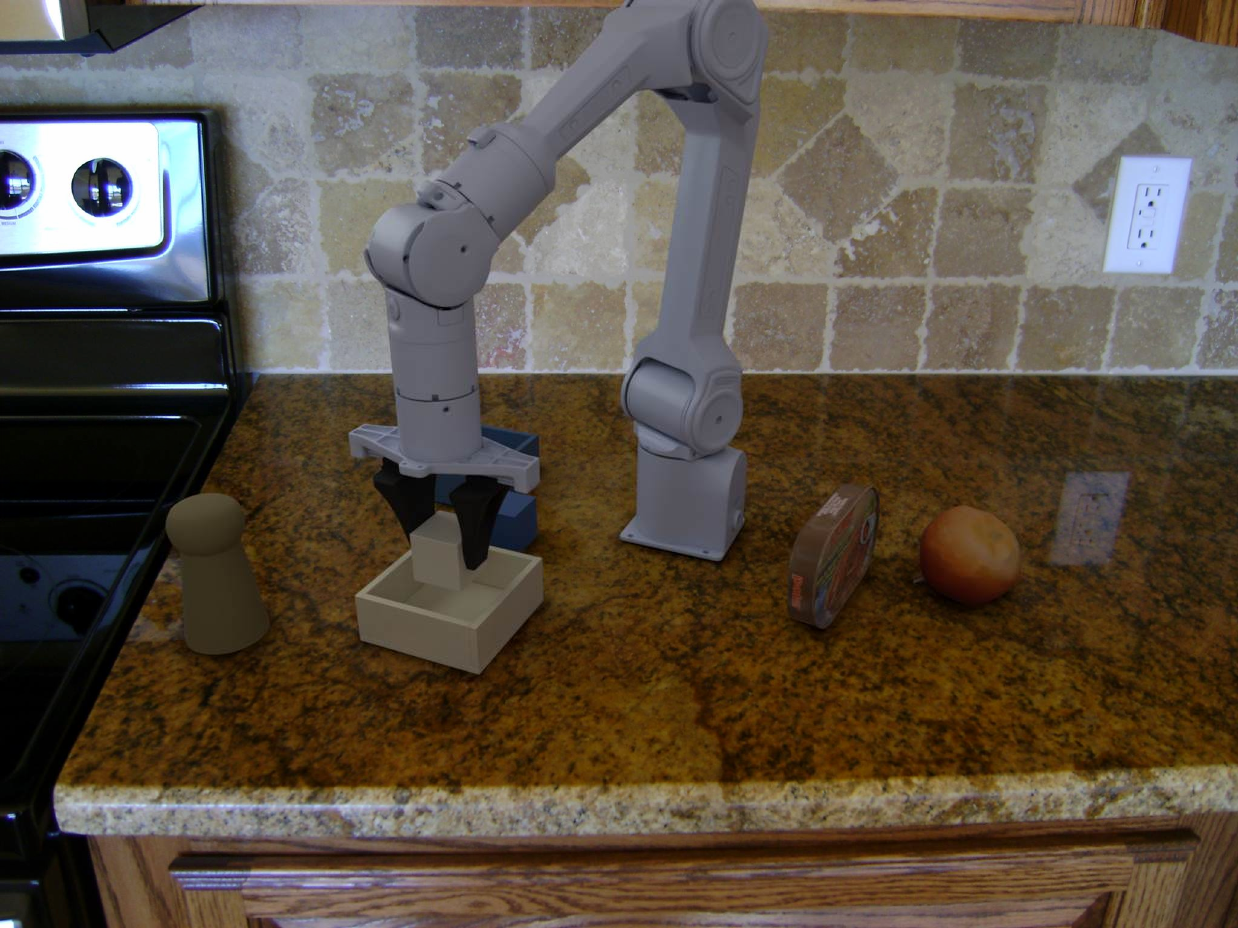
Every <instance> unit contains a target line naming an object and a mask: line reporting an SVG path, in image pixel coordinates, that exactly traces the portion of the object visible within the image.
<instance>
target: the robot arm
mask: <svg viewBox="0 0 1238 928" xmlns="http://www.w3.org/2000/svg"><path fill="white" fill-rule="evenodd" d="M603 20H604V21H603V24H602V29H601V31H600V33H599V34H598V35H597V36H596V37H595V39H594V40H593V41H592V42H591V44H590V45H588V46H587V48H586V49H585V50H584V51H583V52H582V53H581V55H580V56H579V57H578V58H577V59H576V60H575V61H574V62H573V63H572V64H571V66H570V67H569V68H568V69H567V70H566V71H565V72H564V73H563V74H562V76H561V77H560V78H559V79H558V80H557V81H556V83H555V84H554V85H553V86H552V87H551V88H550V89H549V90H548V91H547V92H546V93H545V95H543V97H542V98H541V99H540V100H539V101H538V102H537V104H535V105H534V107H532V109H531V110H530V111H529V112H528V114H527V115H526V116H525V117H524V118H523V119H522V120H521V121H520V122H519V123H514V122H507V121H497V122H493V123H492V124H491V125H490V126H487V127H486V126H480V125H478V126H476V127H475V128H474V129H473V130H472V131H471V132H470V133H469V134H468V135H467V136H466V141H467V143H468V144H469V146H468V147H467V148H466V149H465V150H464V151H463V152H462V153H461V154H460V155H459V156H458V157H456V159H455V160H454V161H453V162H452V163H451V164H449V166H448V167H446V168H445V169H444V170H443V171H442V172H441V173H440V174H439V175H438V176H437V177H436V178H435V179H434V180H433V181H430V180H425V181H424V182H422V183H421V184H420V186H419V187H418V188H417V189H416V193H417V197H416V202H405V203H404V204H400V203H399V204H396V205H395V206H392V207H390V208H389V209H388V210H386V211H385V212H384V213H383V214H381V216H380V217H379V218H378V219H377V221H376V222H375V224H374V226H373V229H372V236H370V238H369V244H368V245H369V246H368V247H366V248H364V249H363V251H362V253H363V258H364V261H365V262H364V263H365V265H366V266H367V269H368V271H369V272H370V273H371V275H372V276H373V277H374V279H375V280H376V281H377V282H378V283H380V285H381V286H382V288H383V290H384V298H385V309H386V317H387V318H386V319H387V331H388V332H387V333H388V342H389V343H388V344H389V351H390V362H391V372H392V383H393V392H394V393H393V394H394V401H395V403H394V404H395V412H396V413H395V414H396V421H397V426H396V425H393V426H392V425H379V424H378V425H377V424H369V423H362V424H361V425H359V426H358V427H356V428H355V429H353V430H351V431H350V432H349V433H348V443H349V450H350V457H352V458H354V459H355V458H357V459H363V460H364V459H365V458H367V457H368V456H369V457H373V458H378V459H382V464H381V466H380V470H379V471H377V472H376V473H375V474H374V475H373V476H372V481H373V482H372V483H373V487H374V489H376V491H377V492H379V494H380V495H381V496H382V497H383V498H384V499H385V501H386V502H387V504H388V505H389V506H390V508H391V510H392V511H393V513H394V515H395V516H396V518H397V520H398V522H399V524H400V526H401V528H402V531H403V533H404V536H405V537H406V540H407V543H408V544H409V547H410V548H411V542H410V534H411V533H412V532H413V531H414V530H416V529H417V528H418V527H419V526H421V525H422V524H423V523H424V522H426V521H427V520H428V519H429V518H430V517H432V516H433V515H434V514H435V513H436V507H435V506H436V504H435V502H436V501H435V485H436V476H437V474H458V475H463V476H466V482H465V483H464V482H463V483H462V484H461V485H459V486H458V487H457V488H455V489H454V490H453V491H452V492H450V493H449V500H450V502H451V504H452V505H451V506H452V508H453V510H454V514H456V516H457V519H458V523H459V527H460V531H461V538H462V551H463V557H464V562H465V565H466V569H468V570H472V571H474V570H476V569H477V568H478V567H479V566H480V565H481V564H482V563H483V562H484V561H485V560H486V559H487V557H488V551H489V545H490V540H491V536H492V532H493V528H494V524H495V521H496V518H497V515H498V513H499V510H500V508H501V505H502V503H503V501H504V499H505V497H506V495H507V493H508V491H509V489H510V487H511V486H514V490H515V491H516V492H515V493H519V494H524V495H528V494H529V492H531V491H532V490H534V488H535V487H536V486H538V485H539V484H540V482H541V466H540V465H541V464H539V458H540V457H539V458H538V457H534V456H529V455H526V454H523V453H520V452H517V451H515V450H513V449H511V448H508V447H506V446H504V445H501V444H499V443H497V442H495V441H492V440H490V439H488V438H486V437H483V436H482V432H481V424H482V417H481V397H480V396H481V395H480V384H479V383H480V382H479V367H478V364H479V363H478V348H477V347H478V345H477V332H476V331H477V327H476V311H475V310H476V309H475V298H474V297H475V295H477V294H479V293H480V292H481V291H482V290H483V289H484V288H485V285H486V284H487V281H488V279H489V276H490V273H491V267H492V259H493V258H494V256H495V254H496V253H497V252H498V251H499V250H500V248H499V247H500V245H501V244H502V243H503V242H505V240H506V239H507V238H508V237H509V236H510V235H511V234H512V233H513V232H514V231H515V230H516V229H518V227H519V226H520V225H521V224H522V223H523V222H524V221H525V220H526V219H527V218H528V217H529V216H531V214H532V213H533V212H534V211H535V210H536V209H537V208H538V207H539V205H540V204H542V203H543V202H544V200H546V198H548V196H549V195H550V194H552V192H553V191H554V190H555V188H556V183H557V162H559V161H560V160H561V159H562V158H563V157H564V156H566V154H567V153H569V152H570V151H571V150H572V149H573V148H574V147H575V146H577V145H578V144H579V143H580V142H581V141H583V139H585V138H586V137H587V136H588V135H589V134H590V133H591V132H592V131H594V130H595V129H596V128H597V127H598V126H599V125H601V124H602V123H603V122H604V121H605V120H606V119H607V118H609V116H611V115H612V114H613V113H614V112H616V110H617V109H619V108H620V107H621V106H622V105H624V103H626V102H627V100H629V99H631V97H632V96H633V95H635V94H636V93H638V92H642V91H650V92H651V93H653V94H654V95H655V96H657V97H658V98H659V99H661V100H662V101H663V102H664V103H666V104H667V105H668V106H669V108H670V109H671V111H672V112H673V114H674V115H675V117H676V118H677V120H678V121H679V122H680V124H681V125H682V126H683V128H684V130H685V139H684V144H683V152H682V159H681V164H680V173H679V177H678V179H679V180H678V186H677V192H676V200H675V206H674V213H673V219H672V226H671V233H670V238H669V247H668V253H667V260H666V267H665V274H664V281H663V287H662V292H661V293H662V294H661V300H660V308H659V315H658V322H657V327H656V328H655V329H654V330H653V331H650V332H649V333H648V334H647V335H645V336H644V337H642V338H641V339H639V340H638V341H637V342H636V343H635V347H634V353H633V359H632V362H631V364H630V367H629V368H628V370H627V373H626V374H625V377H624V379H623V381H622V384H621V388H620V405H621V408H622V411H623V413H624V414H625V416H626V417H627V418H629V420H631V421H632V422H633V434H634V435H636V436H637V463H636V464H637V466H636V506H635V507H636V512H635V513H636V514H635V516H633V518H632V519H631V520H630V521H629V523H628V524H627V525H626V526H625V527H624V528H623V530H622V531H621V532H620V534H619V539H620V540H621V541H623V542H628V543H632V544H637V545H641V546H645V547H650V548H655V549H659V550H664V551H669V552H673V553H677V554H682V555H686V556H691V557H695V558H700V559H704V560H709V561H714V562H721V561H722V560H723V559H724V557H725V556H726V554H727V552H728V550H730V547H731V546H732V544H733V542H734V540H735V539H736V537H737V536H738V534H739V533H740V530H741V529H742V527H743V526H744V524H745V521H746V519H745V517H744V512H745V499H746V489H747V488H746V486H747V474H748V459H747V458H748V457H747V453H746V452H745V451H743V450H741V449H738V448H735V447H732V446H730V445H729V444H730V442H731V441H732V440H733V439H734V437H735V436H736V435H737V433H738V431H739V429H740V427H741V423H742V419H743V414H744V399H743V396H742V378H743V372H744V368H743V366H742V364H741V362H740V361H739V359H738V358H737V357H736V355H735V353H734V351H732V349H731V348H730V346H729V345H728V343H727V341H726V340H725V338H724V329H725V324H726V318H727V313H728V306H729V301H730V294H731V290H732V283H733V278H734V273H735V266H736V261H737V254H738V249H739V243H740V237H741V232H742V225H743V220H744V214H745V209H746V202H747V197H748V191H749V185H750V179H751V173H752V167H753V161H754V155H755V150H756V145H757V138H758V133H759V128H760V127H759V126H760V121H761V110H762V107H761V88H762V87H761V86H762V80H763V74H764V69H765V64H766V57H767V51H768V46H769V39H770V33H771V31H770V29H769V27H768V25H767V24H766V22H765V20H764V18H763V16H762V14H761V12H760V10H759V9H758V7H757V5H756V3H755V1H754V0H624V2H623V3H622V5H620V6H619V7H617V8H616V9H614V10H612V11H611V12H609V13H607V14H606V15H605V17H604V19H603Z"/></svg>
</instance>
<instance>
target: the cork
mask: <svg viewBox="0 0 1238 928" xmlns="http://www.w3.org/2000/svg"><path fill="white" fill-rule="evenodd" d="M245 529H246V515H245V511H244V510H243V508H242V506H241V505H240V502H239V501H237V500H236V499H235V498H234V497H233V496H230V495H228V494H223V493H217V492H207V493H200V494H195V495H191V496H189V497H185V498H184V499H182V500H181V501H179V502H176V504H174V505H173V506H172V507H171V508H170V510H169V512H168V514H167V516H166V519H165V532H166V535H167V537H168V539H169V542H170V543H171V545H172V546H173V548H175V549H177V550H178V551H179V563H180V579H181V580H180V583H181V598H182V599H181V600H182V614H183V630H184V631H183V632H184V641H185V644H186V646H187V648H189V649H190V650H192V651H193V652H194V653H198V654H202V655H211V656H212V655H215V656H218V655H219V656H220V655H226V654H232V653H235V652H238V651H242V650H244V649H246V648H248V647H251V646H252V645H253V644H256V643H257V642H259V641H260V640H261V639H262V638H264V636H266V635H267V633H268V631H269V630H270V626H271V619H270V616H269V614H268V613H269V612H268V611H267V608H266V606H265V602H264V599H263V597H262V594H261V591H260V588H259V586H258V583H257V580H256V577H255V574H254V572H253V569H252V566H251V564H250V561H249V558H248V555H247V552H246V549H245V547H244V544H243V540H242V537H243V536H244V534H245Z"/></svg>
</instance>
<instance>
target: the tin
mask: <svg viewBox="0 0 1238 928" xmlns="http://www.w3.org/2000/svg"><path fill="white" fill-rule="evenodd" d="M880 514H881V499H880V494H879V491H878V489H877V488H876V486H872V485H871V486H867V485H861V484H857V483H848V482H843V483H841V484H840V485H838V486H837V487H835V489H834V490H833V491H832V492H831V494H829V496H828V497H827V498H826V499H825V500H824V501H823V502H822V503H821V505H820V506H819V507H818V508H817V509H816V510H815V512H814V513H813V514H812V515H811V516H810V517H809V518H808V520H806V522H805V523H804V524H803V525H802V527H801V528H800V531H799V532H798V534H797V536H796V539H795V541H794V542H793V543H794V544H793V546H792V549H791V552H790V555H789V559H788V564H787V572H786V573H787V587H786V612H787V614H788V616H789V617H790V618H791V619H793V620H795V621H797V622H799V623H800V622H801V623H804V624H808V625H811V626H814V627H817V628H818V629H821V630H825V629H827V628H828V627H829V626H831V624H832V623H833V622H834V620H835V619H836V617H837V616H838V615H839V613H840V612H841V611H842V609H843V607H844V605H845V604H846V603H847V602H848V601H849V599H850V597H851V596H852V594H854V592H855V591H856V589H857V587H858V586H859V584H860V583H861V582H862V580H863V578H864V577H865V575H866V573H867V571H868V569H869V567H870V563H871V562H872V561H871V560H872V558H873V555H874V551H875V547H876V543H877V538H878V531H879V525H880V516H881V515H880Z"/></svg>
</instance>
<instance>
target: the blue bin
mask: <svg viewBox="0 0 1238 928" xmlns="http://www.w3.org/2000/svg"><path fill="white" fill-rule="evenodd" d="M481 432H482V436H483V437H486V438H488V439H490V440H492V441H495V442H497V443H499V444H501V445H504V446H506V447H508V448H511V449H513V450H515V451H517V452H520V453H523V454H526V455H529V456H534V457H538V458H539V464H540V463H541V462H540V459H541V458H540V435H539V434H537V433H532V432H526V431H520V430H514V429H510V428H505V427H504V428H503V427H498V426H494V425H488V424H484V423H481ZM540 465H541V464H540ZM463 482H464V483H465V482H466V476H463V475H458V474H437V476H436V485H435V502H436V503H440V504H445V505H450V506H452V504H451V502H450V500H449V493H450V492H452V491H453V490H454V489H455V488H457V487H458V486H459V485H461V484H462V483H463ZM509 491H510V492H515V493H517V492H516V491H515V490H514V486H511V487H510V489H509Z"/></svg>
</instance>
